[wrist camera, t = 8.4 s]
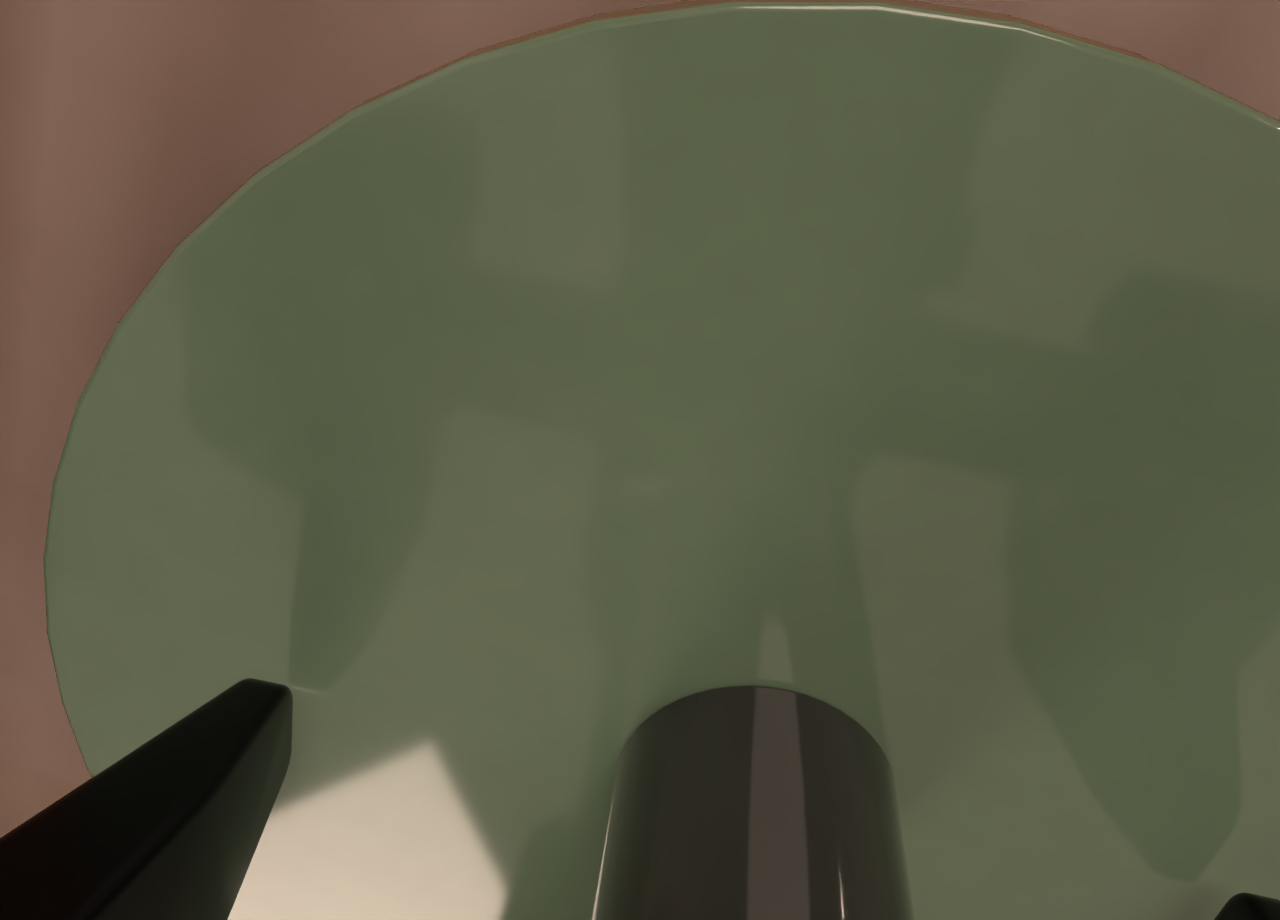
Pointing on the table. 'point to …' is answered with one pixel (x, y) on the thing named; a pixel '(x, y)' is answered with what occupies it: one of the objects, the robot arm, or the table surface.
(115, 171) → the table surface
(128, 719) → the lid
